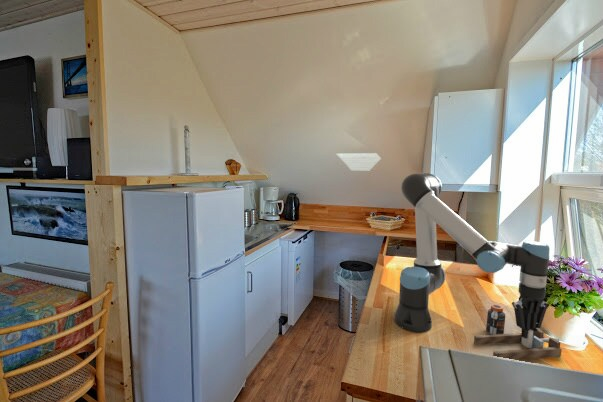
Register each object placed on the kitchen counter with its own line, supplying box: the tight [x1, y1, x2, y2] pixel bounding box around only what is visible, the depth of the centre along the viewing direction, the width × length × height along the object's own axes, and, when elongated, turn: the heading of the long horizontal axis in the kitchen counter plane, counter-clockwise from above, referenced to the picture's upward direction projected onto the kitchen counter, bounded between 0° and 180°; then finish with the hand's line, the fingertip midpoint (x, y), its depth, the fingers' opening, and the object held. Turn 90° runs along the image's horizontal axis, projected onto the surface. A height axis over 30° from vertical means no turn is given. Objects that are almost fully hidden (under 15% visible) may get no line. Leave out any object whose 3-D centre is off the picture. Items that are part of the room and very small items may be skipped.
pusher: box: [520, 336, 560, 349], centre depth 104 cm, size 11×7×5 cm, turn 96°
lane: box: [473, 328, 563, 361], centre depth 103 cm, size 25×10×5 cm, turn 96°
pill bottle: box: [485, 303, 506, 335], centre depth 114 cm, size 6×6×11 cm
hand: (526, 345), depth 103 cm, fingers closed
